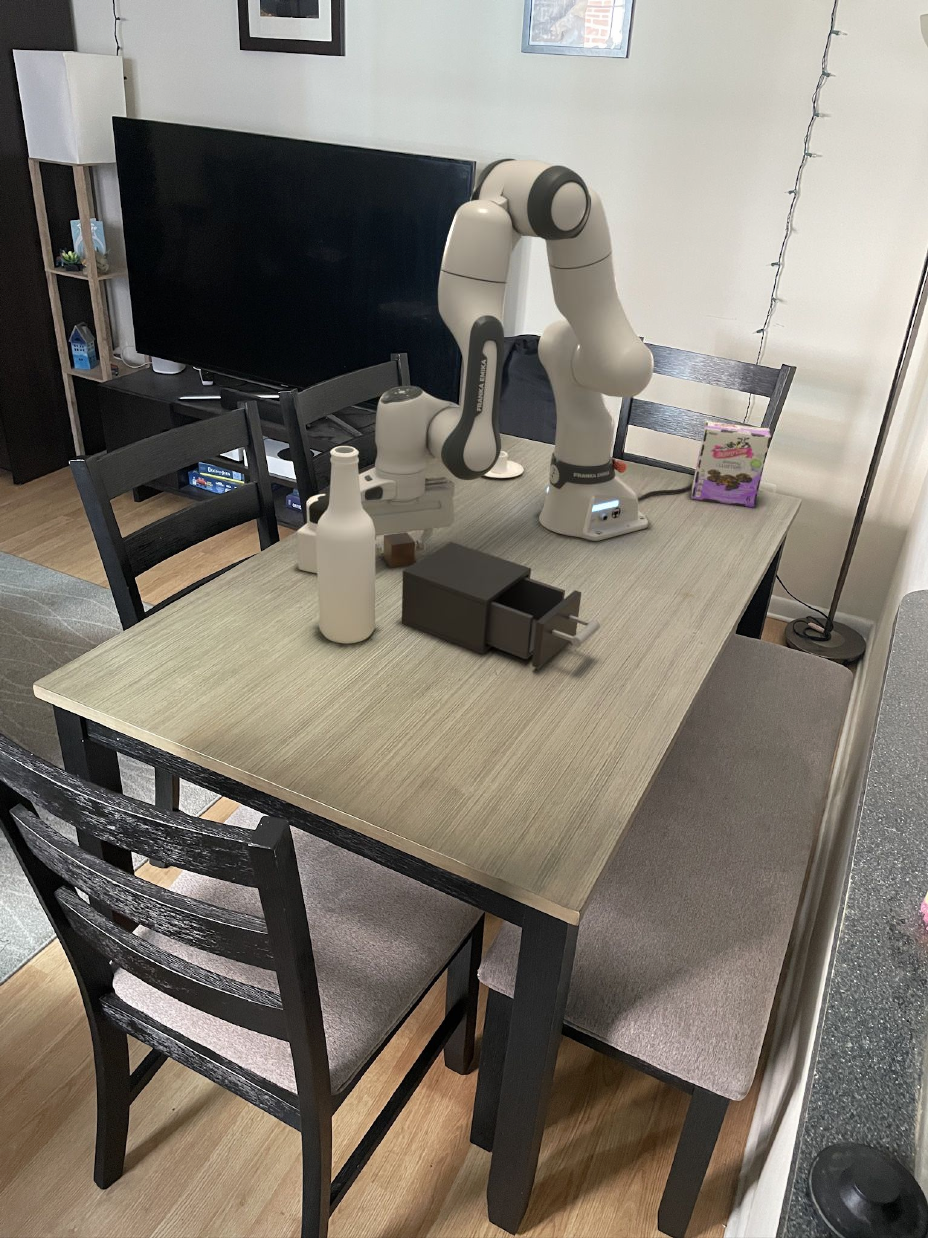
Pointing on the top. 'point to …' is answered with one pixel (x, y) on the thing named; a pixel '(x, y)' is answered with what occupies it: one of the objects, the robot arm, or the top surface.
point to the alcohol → (345, 556)
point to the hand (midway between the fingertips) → (398, 552)
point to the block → (399, 549)
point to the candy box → (730, 463)
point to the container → (311, 533)
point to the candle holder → (505, 467)
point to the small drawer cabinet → (456, 593)
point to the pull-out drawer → (536, 621)
